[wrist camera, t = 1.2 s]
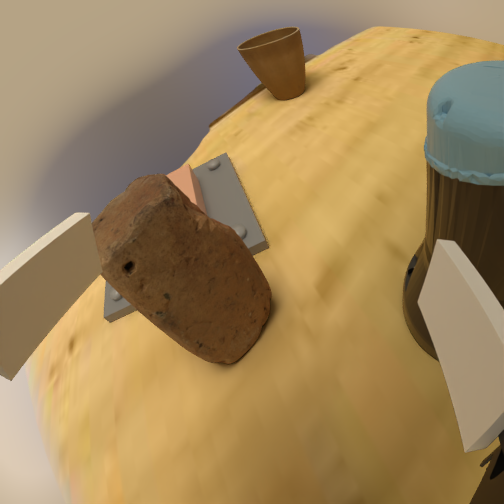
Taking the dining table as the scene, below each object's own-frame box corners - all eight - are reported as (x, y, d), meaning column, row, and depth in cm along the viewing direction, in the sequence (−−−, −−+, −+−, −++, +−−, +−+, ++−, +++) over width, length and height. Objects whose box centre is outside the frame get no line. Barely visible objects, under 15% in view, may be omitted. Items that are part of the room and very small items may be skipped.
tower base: (229, 158, 60) (217, 135, 56) (269, 247, 42) (254, 218, 38) (117, 218, 62) (102, 200, 58) (110, 322, 44) (85, 303, 40)
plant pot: (298, 78, 76) (279, 26, 65) (330, 88, 66) (311, 27, 54) (251, 100, 76) (227, 47, 64) (278, 113, 65) (252, 50, 54)
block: (223, 380, 32) (87, 275, 18) (186, 342, 37) (66, 234, 23) (290, 307, 35) (209, 160, 21) (246, 278, 40) (161, 147, 26)
